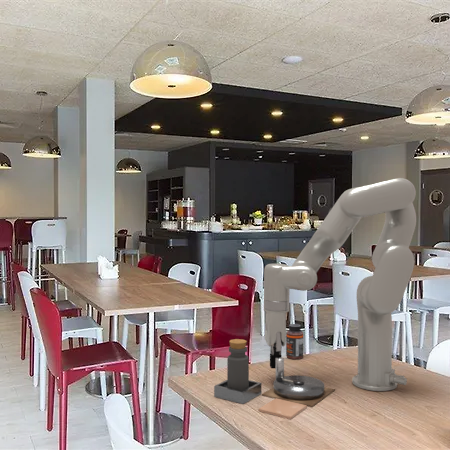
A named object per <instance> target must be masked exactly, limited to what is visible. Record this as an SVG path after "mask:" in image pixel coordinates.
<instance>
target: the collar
mask: <svg viewBox="0 0 450 450" xmlns="http://www.w3.org/2000/svg"><path fill="white" fill-rule="evenodd" d="M213 390H214V391H213V397H214V398H218V399H221V400H226V401H229V402H234V403H238V404H241V405H244V404H246V403H248V402H249V401H251V400H253V399H254V398H257V397H258V396H259V395H262V394H263V392H262V390H263V389H262V382H259V381H254V380H250V379H249V388H248V389H246V390H244V391H238V390H234V389H230V388H227V379H226V380H224V381H222V382H220V383H217V384H215V385H214V386H213Z"/></svg>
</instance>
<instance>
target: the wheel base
mask: <svg viewBox="0 0 450 450" xmlns="http://www.w3.org/2000/svg"><path fill="white" fill-rule="evenodd" d="M335 391H336V389H335V388H330V387H325V386H324V394H323V395H322V396H321V397H318V398H315V399H308V400H297V399H289V398H285V397H282V396H279V395H277V394H276V393H275V392H274V386H273V387H271V388H269V389H267V391H265V392H262V394H261V396H263V397H266V398H270V399H276V398H278V399H282V400H286V401H290V402H295V403H299V404H303V405H307V407H308V408H309V407H310V408H313V407H314V406H316V405H318V404H319V403H320V402H321V401H323V400H324V399H326V398H327V397H328V396H330V395H331V394H332V393H334V392H335Z"/></svg>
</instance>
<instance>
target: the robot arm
mask: <svg viewBox="0 0 450 450" xmlns="http://www.w3.org/2000/svg"><path fill="white" fill-rule="evenodd" d="M416 194H417V192H416V188H415V185H414V184H413V182H412V181H410V180H409V179H406V178H403V177H397V178H392V179H388V180H384V181H380V182H375V183H373V184H368V185H363V186H358V187H352V188H349V189H347V190H345V191H344V192H343V193H342V194H341V195H340V196H339V198H338V199H337V200H336V202H335V203H334V205H333V206H332V208H330V211H329V212H328V214H327V215H326V216H325V218H324V220H323V221H322V223H321V224H320V225H319V227H318V228H317V229H316V231H315V232H314V233H313V235H312V236H311V238H310V239H309V241H308V242H307V243H306V245H305V246H304V248H303V249H302V250H301V252H300V254H299V255H298V256H297V257H296V259H294V262H293V263H292V265H290V266H289V265H288V264H284V263H268V264H266V265H265V266H264V271H263V275H264V277H263V278H264V279H263V311H264V312H266V314H265V330H264V340H265V342H266V344H267V345H268V346H269V347H270V348H269V349H270V350H269V351H270V353H269V367H270V369H276V358H277V357H282V347H286V333H287V326H286V325H287V322H286V321H287V319H286V318H287V317H286V315H287V313H289V312H290V290H296V291H302V292H303V291H305V292H306V291H309V290H312V289H313V288H314V287H315V286H316V285H317V282H318V275H317V273H318V272H319V270H320V268H321V267H322V265H323V264H324V262H325V261H327V259H328V257H330V256H331V255H332V254H333V253H334V252H336V251H338V250H339V249H340V248H341V247H343V245H344V244H345V242H346V241H347V239H348V238H349V236H350V235H351V233H352V232H353V231H354V229H355V227H356V226H357V225H358V224H359V222H360V220H362V218H367V217H372V216H377V215H381V214H384V213H385V214H384V215H385V220H384V224H383V227H382V230H381V233H380V235H379V238H378V241H377V243H376V245H375V248H374V250H373V252H372V255H371V262H372V265H373V267H374V271H373V273H372V275H370V276H369V275H368V276H366V277H364V278H363V279H362V280H361V281H360V282H359V283H358V285H357V289H356V307H357V374H356V375H354V376H352V379H351V381H352V384H353V385H354V386H355V387H357V388H360V389H363V390H367V391H373V392H388V391H393V390H395V389H396V388H397V387H398V384H399V385H404V386H406V385H407V381H408V380H407V377H405V376H404V375H399V374H397V373H396V371H395V368H393V367H392V366H393V365H392V364H393V363H392V361H393V360H392V359H393V352H392V351H393V350H392V349H393V347H392V346H393V342H392V341H393V317H392V313H393V312H394V311H396V310H397V309H398V308H399V306H400V304H401V302H402V300H403V297H404V295H405V292H406V289H407V287H408V284H409V282H410V280H411V277H412V275H413V270H414V267H415V258H414V257H415V256H414V254H413V251H412V250H411V249H410V246H411V242H412V240H413V236H414V233H415V231H416V225H417V213H416V208H415V207H414V206H415V205H414V201H415V198H416ZM282 358H283V357H282Z"/></svg>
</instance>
